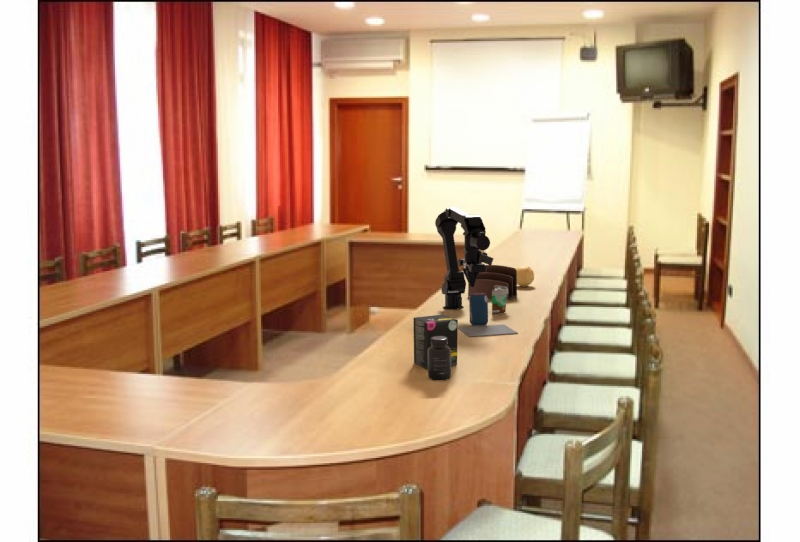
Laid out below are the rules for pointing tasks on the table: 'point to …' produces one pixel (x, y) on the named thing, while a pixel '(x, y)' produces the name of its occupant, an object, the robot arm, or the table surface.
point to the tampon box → (434, 327)
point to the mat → (487, 330)
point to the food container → (499, 299)
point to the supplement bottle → (439, 359)
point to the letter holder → (496, 281)
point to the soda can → (478, 309)
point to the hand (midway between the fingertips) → (471, 286)
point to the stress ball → (524, 276)
